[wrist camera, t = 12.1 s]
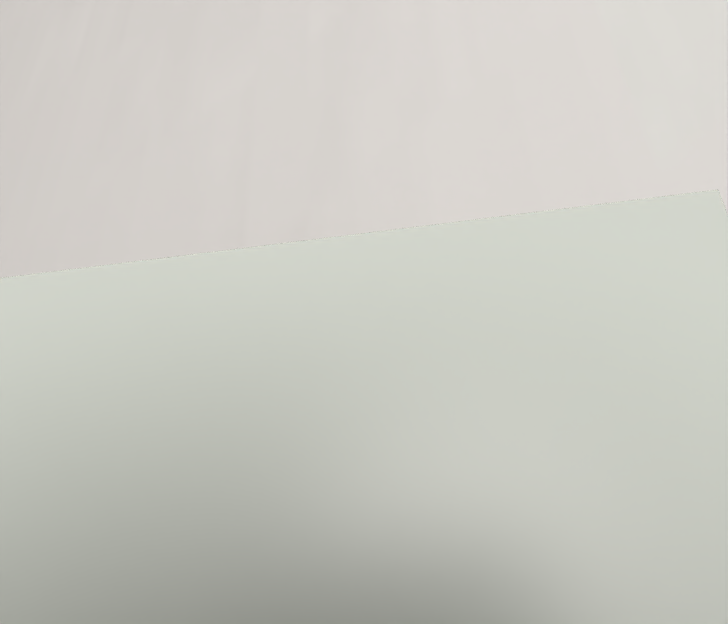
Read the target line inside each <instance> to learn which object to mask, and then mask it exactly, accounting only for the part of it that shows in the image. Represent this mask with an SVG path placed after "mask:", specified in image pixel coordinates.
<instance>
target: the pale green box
mask: <svg viewBox="0 0 728 624" xmlns="http://www.w3.org/2000/svg"><path fill="white" fill-rule="evenodd" d="M0 624H728V214H727V211H726V209H725V206H724V203H723V201H722V198H721V195H720V192H719V190H710V191H702V192H694V193H686V194H678V195H670V196H662V197H653V198H645V199H637V200H629V201H621V202H613V203H605V204H597V205H589V206H580V207H572V208H564V209H556V210H548V211H540V212H532V213H524V214H516V215H507V216H499V217H491V218H483V219H475V220H467V221H459V222H451V223H442V224H434V225H426V226H418V227H410V228H402V229H394V230H386V231H378V232H369V233H361V234H353V235H345V236H337V237H329V238H321V239H313V240H304V241H296V242H288V243H280V244H272V245H264V246H256V247H248V248H240V249H231V250H223V251H215V252H207V253H199V254H191V255H183V256H175V257H167V258H158V259H150V260H142V261H134V262H126V263H118V264H110V265H102V266H93V267H85V268H77V269H69V270H61V271H53V272H45V273H37V274H29V275H20V276H12V277H4V278H0Z"/></svg>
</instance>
